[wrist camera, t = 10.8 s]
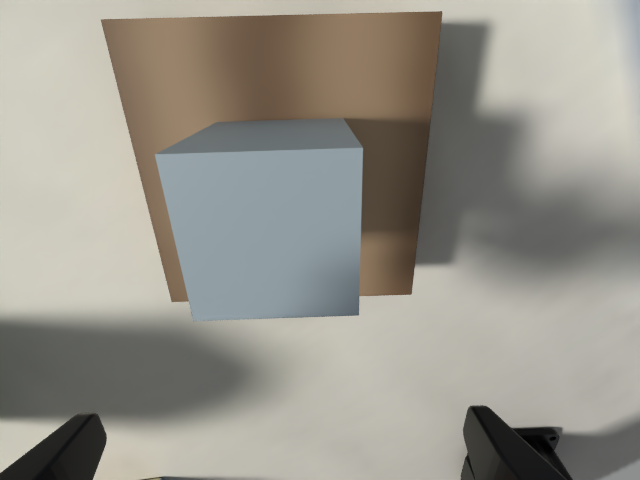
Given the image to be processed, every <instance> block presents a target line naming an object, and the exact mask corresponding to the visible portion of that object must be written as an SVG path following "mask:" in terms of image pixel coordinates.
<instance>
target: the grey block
mask: <svg viewBox="0 0 640 480" xmlns="http://www.w3.org/2000/svg"><path fill="white" fill-rule="evenodd" d="M155 158H156V162H157V166H158V171H159V175H160V179H161V184H162V188H163V192H164V196H165V201H166V205H167V209H168V214H169V218H170V222H171V227H172V231H173V235H174V240H175V244H176V248H177V253H178V257H179V261H180V266H181V270H182V274H183V278H184V283H185V287H186V291H187V296H188V300H189V304H190V309H191V313H192V317H193V321H212V320H240V319H268V318H297V317H325V316H353V315H359V287H360V248H361V209H362V170H363V147H362V145H361V144H360V142H359V141H358V139H357V138H356V137H355V135H354V134H353V132H352V131H351V129H350V128H349V126H348V125H347V123H346V122H345V120H344V119H343V118H329V119H298V120H266V121H234V122H216V123H214V124H212V125H210V126H208V127H206V128H204V129H202V130H200V131H198V132H197V133H195V134H193V135H191V136H189V137H187V138H185V139H183V140H181V141H179V142H177V143H176V144H174V145H172V146H170V147H168V148H166V149H164V150H162V151H160V152H158V153H156V154H155Z"/></svg>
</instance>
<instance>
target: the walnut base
mask: <svg viewBox="0 0 640 480" xmlns="http://www.w3.org/2000/svg"><path fill="white" fill-rule="evenodd" d="M441 20H442V11H440V12H398V13H356V14H314V15H272V16H230V17H188V18H146V19H104V20H101V22H102V26H103V30H104V34H105V38H106V42H107V46H108V50H109V54H110V58H111V62H112V66H113V70H114V74H115V78H116V82H117V86H118V90H119V94H120V98H121V102H122V106H123V110H124V114H125V118H126V122H127V126H128V130H129V134H130V138H131V142H132V146H133V150H134V153H135V157H136V161H137V165H138V169H139V173H140V177H141V181H142V185H143V189H144V193H145V197H146V201H147V205H148V209H149V213H150V217H151V221H152V225H153V229H154V233H155V237H156V241H157V245H158V249H159V253H160V257H161V261H162V265H163V269H164V273H165V277H166V281H167V285H168V289H169V293H170V297H171V301H172V302H185V301H189V300H188V296H187V291H186V287H185V283H184V278H183V274H182V270H181V266H180V261H179V257H178V253H177V248H176V244H175V240H174V235H173V231H172V227H171V222H170V218H169V214H168V209H167V205H166V201H165V196H164V192H163V188H162V184H161V179H160V175H159V171H158V166H157V162H156V158H155V154H156V153H158V152H160V151H162V150H164V149H166V148H168V147H170V146H172V145H174V144H176V143H177V142H179V141H181V140H183V139H185V138H187V137H189V136H191V135H193V134H195V133H197V132H198V131H200V130H202V129H204V128H206V127H208V126H210V125H212V124H214V123H216V122H234V121H266V120H298V119H329V118H343V119H344V120H345V122H346V123H347V125H348V126H349V128H350V129H351V131H352V132H353V134H354V135H355V137H356V138H357V139H358V141H359V142H360V144H361V145H362V147H363V170H362V209H361V248H360V287H359V296H378V295H411V294H412V285H413V276H414V267H415V257H416V248H417V239H418V230H419V221H420V212H421V203H422V194H423V184H424V175H425V166H426V157H427V148H428V139H429V130H430V120H431V111H432V102H433V93H434V84H435V75H436V66H437V56H438V47H439V38H440V29H441Z"/></svg>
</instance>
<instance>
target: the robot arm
mask: <svg viewBox="0 0 640 480" xmlns="http://www.w3.org/2000/svg"><path fill="white" fill-rule="evenodd" d="M463 435H464V440H465V443H466V447H467V451H468V453H467V456H466V458H465V461H464V465H463V469H462V473H461V480H573V479H572V478H571V476H570V475H569V473H568V471H567V470H566V468H565V467H564V465H563V464H562V462H561V461H560V459H559V457H558V456H557V454H556V453H555V451H554V450H555V448H556V445H557V443H558V440H559V435H558V434H557V432H556V431H555V430H552V429H549V430H520V431H514V430H513V429H512V428H511V427H509V426H508V425H507V424H506V423H505V422H504V421H503V420H502V419H501V418H500V417H499V416H498V415H496V414H495V413H494V412H493V411H492V410H491V409H490V408H489V407H487V406H483V405H482V406H470V407H469V408H468V410H467V414H466V419H465V423H464V427H463ZM106 439H107V437H106V432H105V430H104V427H103V425H102V423H101V420H100V418H99V416H98V414H96V413H80V414H77V415H75V416H74V417H72V418H71V419H70V420H69V421H67V422H66V423H65V424H63V425H62V426H61V427H60V428H58V429H57V430H56V431H54V432H53V433H52V434H50V435H49V436H48V437H47V438H45V439H44V440H43V441H41V442H40V443H39V444H37V445H36V446H35V447H34V448H32V449H31V450H30V451H28V452H27V453H26V454H25V455H23V456H22V457H21V458H19V459H18V460H17V461H15V462H14V463H13V464H12V465H10V466H9V467H8V468H6V469H5V470H4V471H3V472H1V473H0V480H93V477H94V475H95V472H96V469H97V467H98V464H99V461H100V459H101V456H102V453H103V451H104V448H105V445H106Z"/></svg>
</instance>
